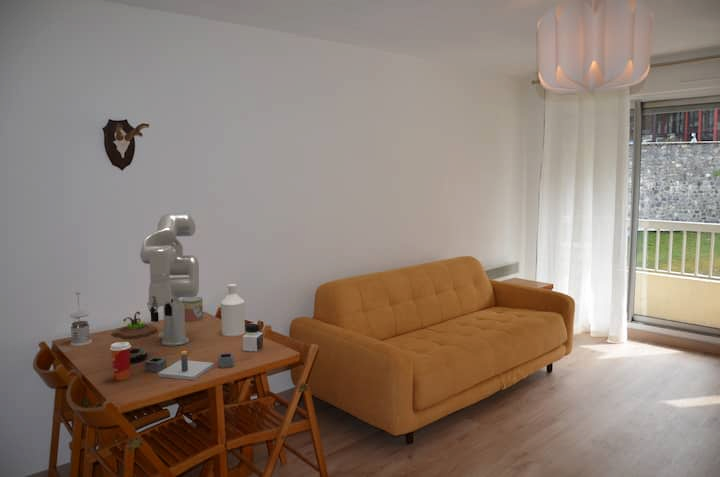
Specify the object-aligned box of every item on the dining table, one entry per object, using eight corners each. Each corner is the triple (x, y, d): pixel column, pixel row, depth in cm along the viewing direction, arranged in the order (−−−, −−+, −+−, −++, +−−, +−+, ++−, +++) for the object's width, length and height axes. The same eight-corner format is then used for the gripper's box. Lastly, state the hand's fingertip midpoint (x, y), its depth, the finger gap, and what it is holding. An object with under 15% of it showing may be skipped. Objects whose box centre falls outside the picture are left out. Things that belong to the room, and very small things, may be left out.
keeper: (158, 376, 219) (157, 353, 217) (180, 363, 234) (179, 341, 233) (193, 380, 215) (192, 357, 213) (214, 366, 230) (213, 344, 229)
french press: (72, 346, 256) (69, 295, 253) (66, 341, 265) (62, 291, 261) (95, 342, 262) (91, 292, 259) (88, 337, 271) (85, 288, 268)
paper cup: (115, 374, 221) (113, 341, 219) (135, 374, 221) (133, 340, 220) (108, 382, 213) (106, 347, 211) (128, 381, 213) (126, 347, 212)
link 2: (218, 367, 228) (218, 358, 228) (219, 362, 234) (219, 353, 234) (233, 366, 229) (232, 357, 229) (233, 361, 235) (233, 353, 235)
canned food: (192, 323, 295) (191, 302, 294) (177, 320, 301) (176, 299, 299) (207, 318, 305) (206, 297, 303) (193, 316, 310) (192, 295, 309)
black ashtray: (124, 355, 244) (123, 347, 244) (151, 355, 245) (150, 346, 244) (114, 364, 233) (114, 355, 232) (142, 364, 233) (142, 355, 233)
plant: (165, 332, 281) (164, 310, 280) (131, 341, 265) (130, 319, 263) (140, 326, 292) (139, 305, 290) (107, 335, 275) (105, 313, 274)
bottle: (217, 333, 277) (215, 285, 274) (236, 328, 286) (234, 281, 283) (230, 337, 270) (229, 288, 267) (250, 332, 278) (248, 284, 275)
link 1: (145, 371, 225) (144, 361, 224) (154, 366, 230) (153, 357, 230) (157, 372, 223) (157, 363, 223) (166, 367, 229) (166, 358, 228)
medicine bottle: (257, 352, 248) (256, 326, 247) (242, 351, 250) (242, 325, 248) (263, 347, 255) (262, 322, 254) (249, 346, 257) (248, 321, 255)
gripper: (163, 274, 233) (165, 313, 235) (139, 281, 216) (141, 323, 218) (179, 274, 231) (181, 314, 233) (155, 282, 215) (157, 324, 216)
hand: (161, 318), depth 226 cm, fingers open, 9 cm apart
